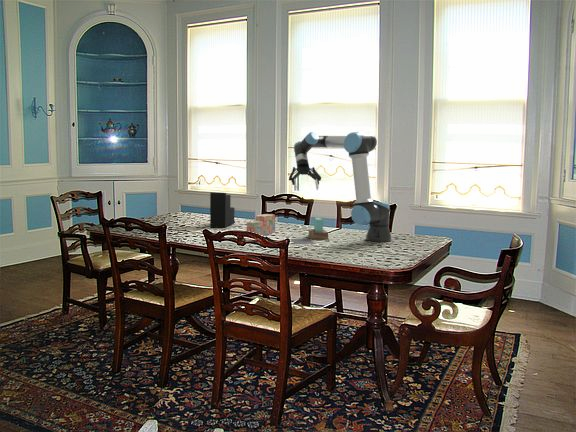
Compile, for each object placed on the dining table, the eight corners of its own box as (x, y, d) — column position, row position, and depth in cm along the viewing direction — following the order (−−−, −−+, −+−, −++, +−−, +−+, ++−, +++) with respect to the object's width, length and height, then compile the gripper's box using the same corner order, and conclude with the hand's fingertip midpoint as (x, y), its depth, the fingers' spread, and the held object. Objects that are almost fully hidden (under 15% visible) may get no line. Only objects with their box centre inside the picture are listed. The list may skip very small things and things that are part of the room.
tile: (313, 235, 358) (314, 217, 357) (319, 235, 359) (319, 217, 357) (316, 237, 350) (317, 219, 349) (322, 237, 351) (322, 219, 350)
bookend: (220, 222, 411) (220, 189, 408) (235, 223, 409) (235, 190, 406) (209, 227, 388) (209, 192, 385) (225, 228, 386) (225, 193, 383)
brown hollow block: (307, 236, 360) (308, 229, 360) (323, 236, 362) (323, 229, 361) (312, 240, 347) (312, 232, 347) (328, 240, 349) (329, 232, 349)
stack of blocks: (254, 238, 352) (254, 217, 351) (246, 237, 356) (246, 216, 354) (275, 233, 370) (275, 214, 368) (267, 232, 373) (267, 213, 372)
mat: (289, 239, 348) (289, 239, 348) (309, 239, 350) (309, 238, 350) (294, 244, 333) (294, 243, 333) (315, 244, 335) (315, 243, 335)
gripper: (320, 166, 374) (325, 192, 362) (282, 166, 370) (285, 192, 357) (322, 158, 368) (327, 184, 356) (283, 158, 364) (287, 184, 351)
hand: (306, 188), depth 357 cm, fingers open, 13 cm apart
